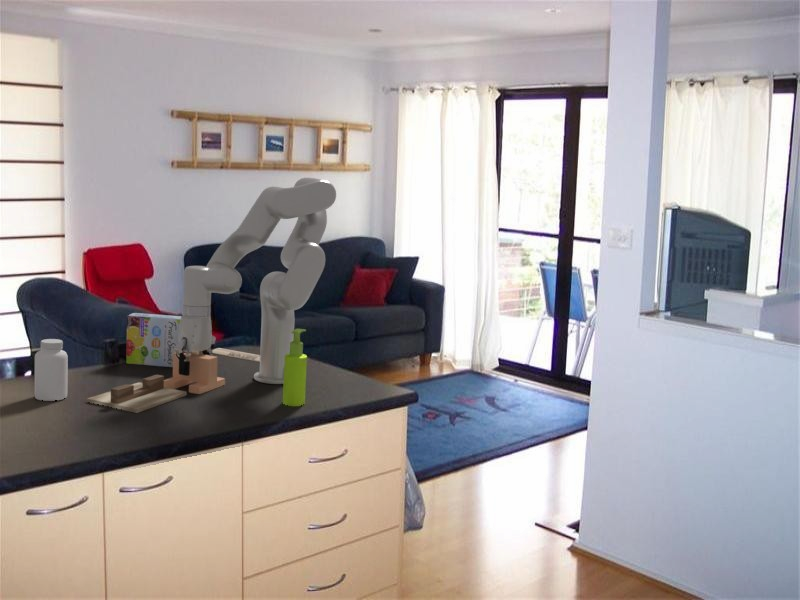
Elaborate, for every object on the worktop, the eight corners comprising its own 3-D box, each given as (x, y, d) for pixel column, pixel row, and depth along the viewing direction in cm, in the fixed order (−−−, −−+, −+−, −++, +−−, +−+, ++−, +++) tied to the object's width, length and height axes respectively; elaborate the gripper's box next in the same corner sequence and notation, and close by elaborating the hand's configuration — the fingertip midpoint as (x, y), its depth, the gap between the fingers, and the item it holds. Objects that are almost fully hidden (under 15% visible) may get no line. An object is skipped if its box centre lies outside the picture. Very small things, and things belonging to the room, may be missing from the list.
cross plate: (225, 385, 260) (226, 354, 258) (199, 394, 249) (200, 362, 247) (190, 378, 264) (190, 348, 263) (163, 387, 253) (164, 355, 252)
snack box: (199, 365, 280) (201, 317, 277) (193, 370, 274) (195, 320, 272) (132, 359, 282) (133, 311, 279) (125, 364, 276) (125, 314, 274)
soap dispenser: (310, 401, 249) (313, 328, 245) (298, 407, 242) (302, 333, 239) (290, 398, 250) (293, 326, 247) (278, 404, 244) (282, 330, 241)
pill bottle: (74, 396, 239) (74, 340, 237) (50, 403, 232) (50, 345, 229) (51, 391, 242) (51, 336, 240) (27, 398, 235) (27, 341, 233)
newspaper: (282, 363, 292) (282, 357, 292) (270, 367, 286) (270, 361, 285) (221, 352, 302) (221, 346, 302) (208, 355, 296) (208, 350, 295)
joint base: (186, 395, 247) (186, 379, 246) (137, 413, 229) (137, 395, 228) (138, 385, 253) (139, 369, 252) (86, 402, 235) (87, 385, 234)
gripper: (204, 305, 262) (202, 363, 265) (165, 313, 247) (164, 375, 249) (226, 308, 259) (224, 367, 262) (188, 317, 244) (186, 379, 247)
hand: (194, 371), depth 256 cm, fingers open, 9 cm apart
